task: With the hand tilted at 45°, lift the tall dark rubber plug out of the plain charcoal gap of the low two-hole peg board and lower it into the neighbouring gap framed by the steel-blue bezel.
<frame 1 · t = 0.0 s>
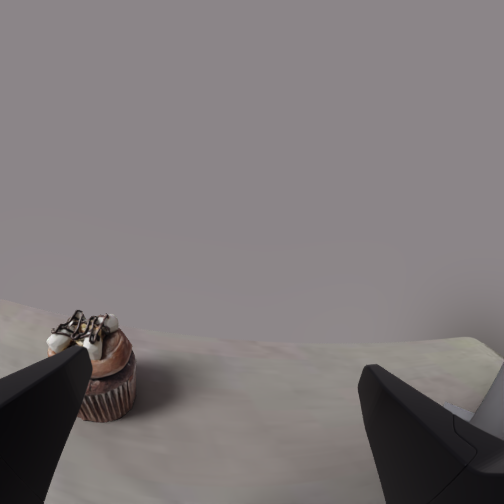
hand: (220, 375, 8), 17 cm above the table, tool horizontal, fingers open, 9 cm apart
plug: (457, 467, 16), resting in two-hole peg board
cupcake: (101, 398, 25), on the table
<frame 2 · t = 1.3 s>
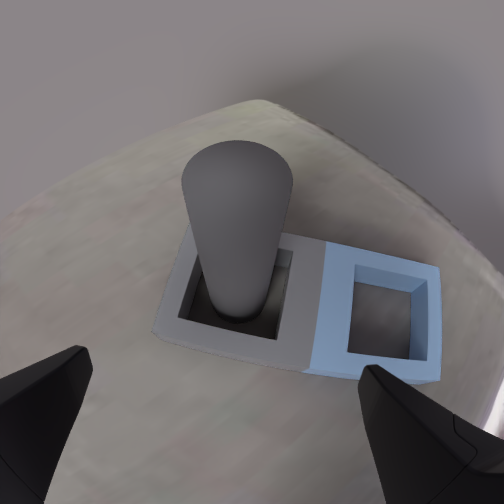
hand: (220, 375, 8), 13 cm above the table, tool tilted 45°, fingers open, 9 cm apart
plug: (238, 297, 24), resting in two-hole peg board
two-hole peg board: (310, 311, 23), on the table
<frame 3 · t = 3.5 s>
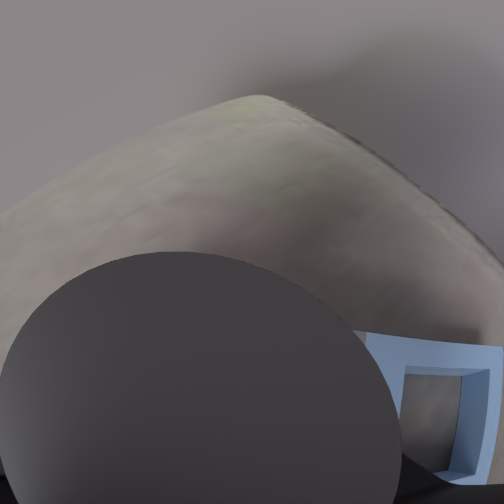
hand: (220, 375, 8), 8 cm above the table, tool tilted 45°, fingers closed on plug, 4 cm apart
plug: (228, 408, 14), resting in two-hole peg board, touching gripper
two-hole peg board: (333, 425, 14), on the table
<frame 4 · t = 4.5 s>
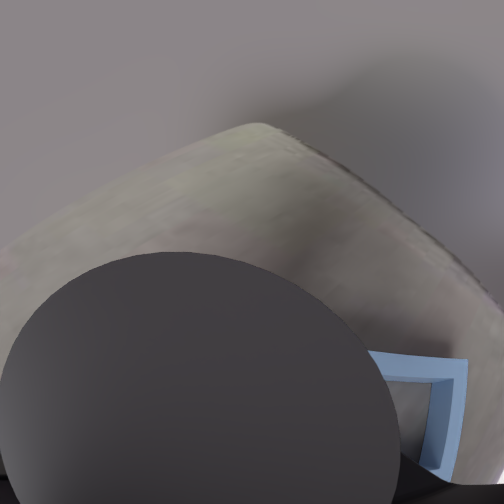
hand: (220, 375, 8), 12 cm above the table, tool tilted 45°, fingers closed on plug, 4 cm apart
plug: (228, 408, 14), point 4 cm above the table, touching gripper
two-hole peg board: (316, 420, 17), on the table
when the fingers open (8 cm above the table, at t = 7.4 s): plug stays where it is, resting in two-hole peg board.
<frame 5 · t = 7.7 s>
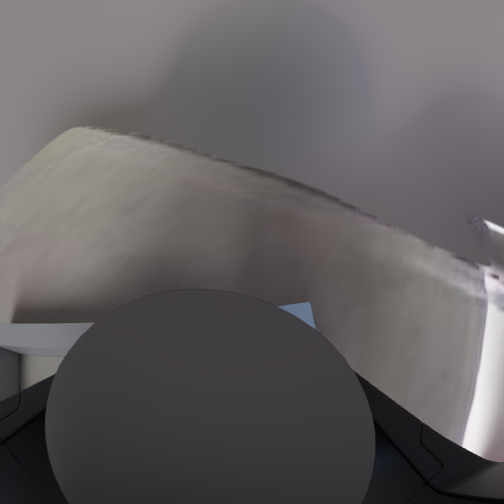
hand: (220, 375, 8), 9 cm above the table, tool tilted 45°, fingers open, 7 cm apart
plug: (228, 408, 15), resting in two-hole peg board
two-hole peg board: (131, 411, 15), on the table
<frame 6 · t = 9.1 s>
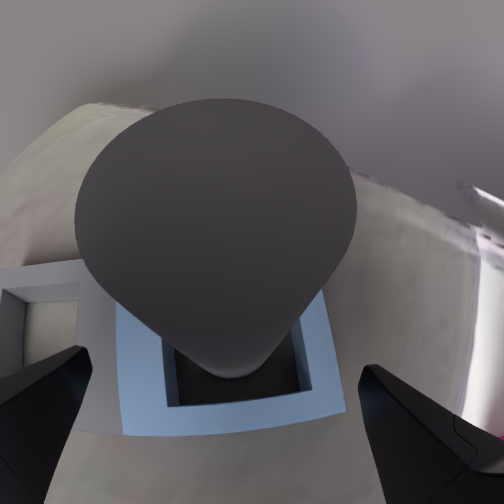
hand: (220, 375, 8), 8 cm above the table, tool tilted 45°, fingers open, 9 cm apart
plug: (231, 343, 17), resting in two-hole peg board
two-hole peg board: (134, 349, 16), on the table
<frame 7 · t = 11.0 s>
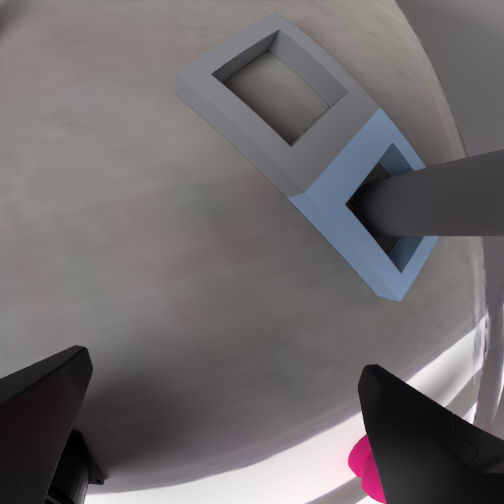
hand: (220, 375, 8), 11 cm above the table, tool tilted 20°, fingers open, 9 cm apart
plug: (375, 209, 22), resting in two-hole peg board
two-hole peg board: (327, 154, 21), on the table
pepper mill: (370, 448, 24), on the table
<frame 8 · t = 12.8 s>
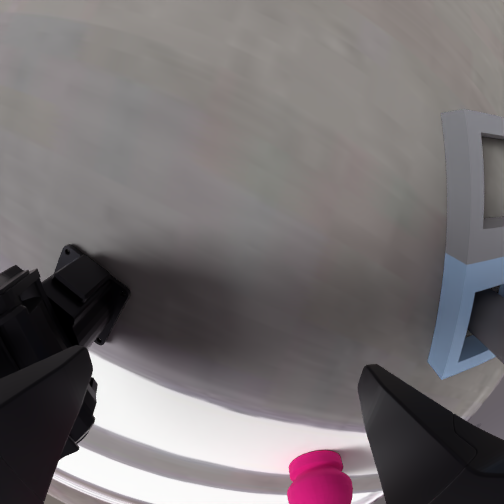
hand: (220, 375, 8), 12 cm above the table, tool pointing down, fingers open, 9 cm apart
plug: (475, 305, 21), resting in two-hole peg board
two-hole peg board: (484, 245, 20), on the table
pepper mill: (314, 461, 27), on the table
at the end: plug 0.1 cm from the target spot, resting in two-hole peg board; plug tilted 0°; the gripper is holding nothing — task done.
